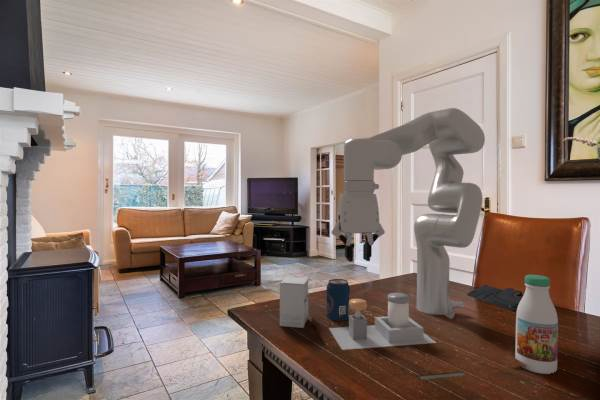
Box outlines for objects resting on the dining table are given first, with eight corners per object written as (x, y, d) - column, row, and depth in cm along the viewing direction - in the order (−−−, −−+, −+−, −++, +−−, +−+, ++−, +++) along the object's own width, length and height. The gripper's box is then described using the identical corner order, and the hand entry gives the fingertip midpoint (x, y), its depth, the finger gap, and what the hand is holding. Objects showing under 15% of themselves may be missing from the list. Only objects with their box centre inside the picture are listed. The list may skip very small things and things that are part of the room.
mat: (438, 353, 84) (438, 351, 84) (464, 375, 74) (464, 372, 74) (398, 356, 82) (398, 354, 82) (420, 379, 72) (420, 376, 72)
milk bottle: (507, 358, 81) (508, 272, 81) (538, 357, 82) (540, 272, 81) (532, 376, 73) (533, 281, 73) (566, 374, 74) (568, 280, 74)
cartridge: (403, 329, 95) (403, 292, 94) (412, 337, 89) (413, 298, 89) (384, 330, 94) (384, 293, 93) (392, 338, 88) (393, 299, 88)
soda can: (323, 318, 107) (323, 279, 107) (344, 316, 109) (344, 277, 108) (330, 326, 100) (331, 284, 100) (353, 324, 102) (353, 283, 102)
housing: (411, 328, 99) (411, 305, 99) (436, 348, 86) (436, 322, 86) (328, 333, 95) (328, 309, 95) (342, 356, 82) (342, 328, 82)
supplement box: (304, 328, 99) (304, 284, 98) (278, 326, 100) (278, 282, 100) (308, 319, 106) (309, 277, 106) (285, 317, 108) (285, 276, 107)
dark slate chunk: (492, 291, 137) (493, 279, 137) (550, 309, 117) (551, 295, 117) (463, 295, 131) (463, 283, 131) (518, 314, 111) (519, 300, 111)
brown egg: (363, 319, 92) (363, 298, 92) (369, 325, 88) (369, 303, 88) (346, 320, 91) (347, 299, 91) (352, 326, 87) (352, 304, 87)
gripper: (383, 188, 94) (383, 256, 94) (323, 188, 91) (322, 258, 91) (396, 188, 86) (395, 262, 87) (330, 188, 84) (329, 264, 84)
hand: (358, 259), depth 89 cm, fingers open, 3 cm apart
